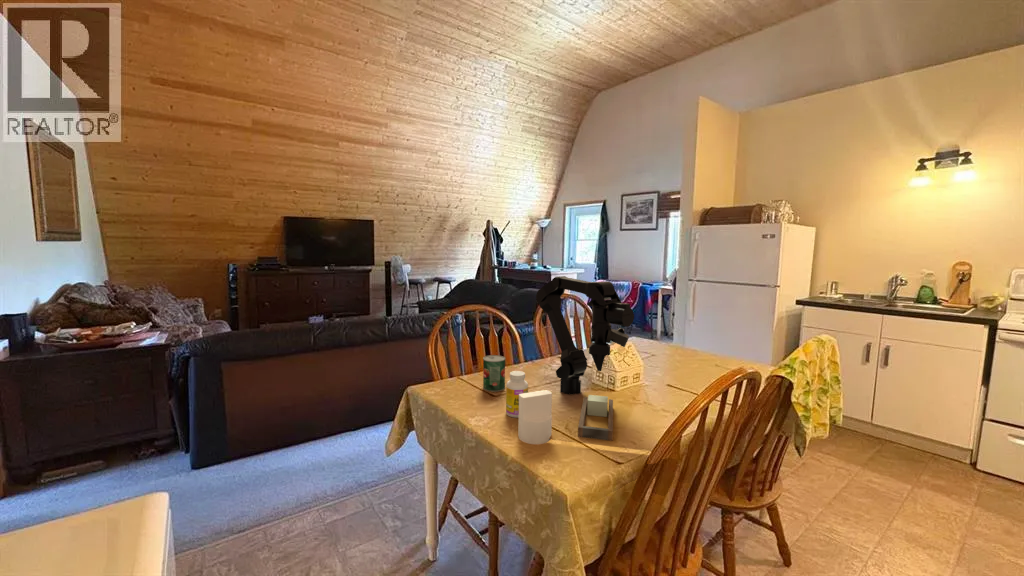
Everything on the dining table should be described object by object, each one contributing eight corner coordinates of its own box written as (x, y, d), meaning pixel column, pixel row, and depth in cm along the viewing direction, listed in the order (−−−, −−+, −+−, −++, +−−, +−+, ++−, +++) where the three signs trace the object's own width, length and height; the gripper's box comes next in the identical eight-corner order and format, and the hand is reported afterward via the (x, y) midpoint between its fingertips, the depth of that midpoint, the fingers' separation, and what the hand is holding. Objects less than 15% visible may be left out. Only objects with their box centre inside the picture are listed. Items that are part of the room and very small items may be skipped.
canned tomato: (509, 389, 149) (509, 359, 148) (490, 393, 145) (490, 362, 144) (497, 382, 156) (497, 353, 154) (479, 386, 151) (479, 357, 150)
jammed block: (587, 414, 125) (587, 400, 125) (588, 408, 130) (588, 394, 130) (607, 416, 124) (607, 402, 124) (607, 410, 129) (607, 396, 128)
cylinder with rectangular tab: (527, 446, 108) (527, 402, 106) (513, 432, 116) (513, 390, 114) (557, 440, 111) (558, 397, 110) (541, 426, 119) (542, 386, 118)
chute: (577, 439, 112) (578, 427, 111) (583, 407, 133) (583, 396, 133) (612, 443, 110) (612, 431, 109) (612, 410, 131) (612, 399, 131)
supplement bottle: (512, 420, 124) (512, 378, 122) (502, 411, 129) (502, 371, 128) (531, 415, 127) (532, 374, 125) (521, 408, 132) (521, 368, 131)
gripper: (628, 328, 121) (626, 381, 123) (626, 317, 139) (624, 363, 141) (589, 326, 123) (588, 377, 125) (592, 315, 141) (591, 360, 143)
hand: (599, 369), depth 134 cm, fingers open, 3 cm apart
